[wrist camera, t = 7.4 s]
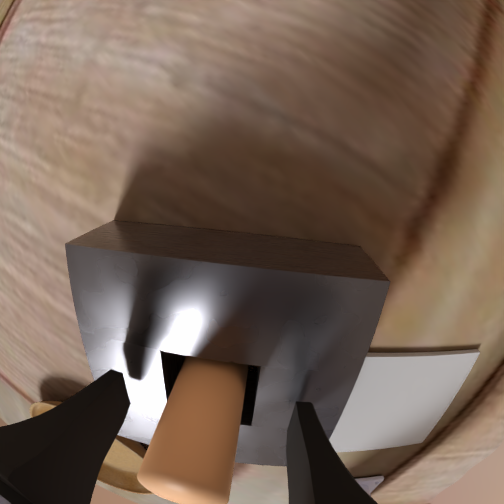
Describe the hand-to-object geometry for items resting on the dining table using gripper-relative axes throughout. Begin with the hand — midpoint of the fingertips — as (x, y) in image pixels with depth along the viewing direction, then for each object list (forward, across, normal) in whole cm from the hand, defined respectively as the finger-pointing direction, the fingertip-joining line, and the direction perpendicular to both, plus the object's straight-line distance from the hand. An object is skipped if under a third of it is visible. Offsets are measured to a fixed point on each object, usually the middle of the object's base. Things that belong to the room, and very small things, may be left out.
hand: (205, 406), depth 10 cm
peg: (+5, 0, 0) cm, 5 cm away
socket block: (+5, 0, 0) cm, 5 cm away
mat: (+5, -12, +5) cm, 14 cm away
